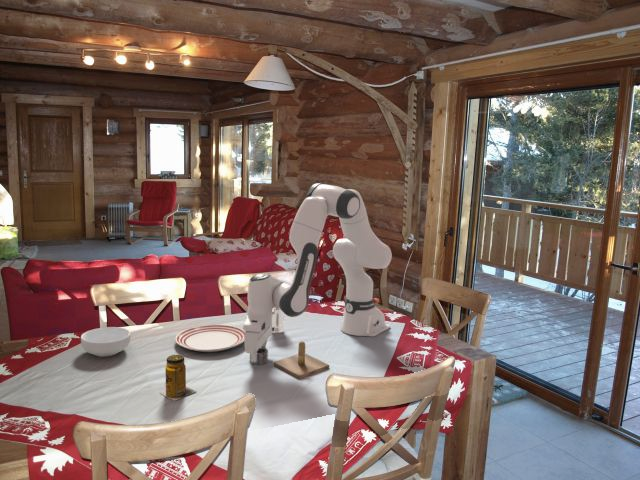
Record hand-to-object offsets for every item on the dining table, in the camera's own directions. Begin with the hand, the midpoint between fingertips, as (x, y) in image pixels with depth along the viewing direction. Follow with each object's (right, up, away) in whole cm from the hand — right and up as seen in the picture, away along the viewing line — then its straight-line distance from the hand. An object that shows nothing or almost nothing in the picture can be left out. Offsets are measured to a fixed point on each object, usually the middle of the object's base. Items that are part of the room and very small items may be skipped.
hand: (258, 355), depth 194 cm
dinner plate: (-20, +1, +16) cm, 26 cm away
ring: (0, -2, +1) cm, 2 cm away
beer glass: (+4, +3, +31) cm, 32 cm away
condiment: (-22, -6, -25) cm, 34 cm away
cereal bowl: (-56, 0, +3) cm, 56 cm away
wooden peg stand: (+15, -3, -3) cm, 16 cm away
